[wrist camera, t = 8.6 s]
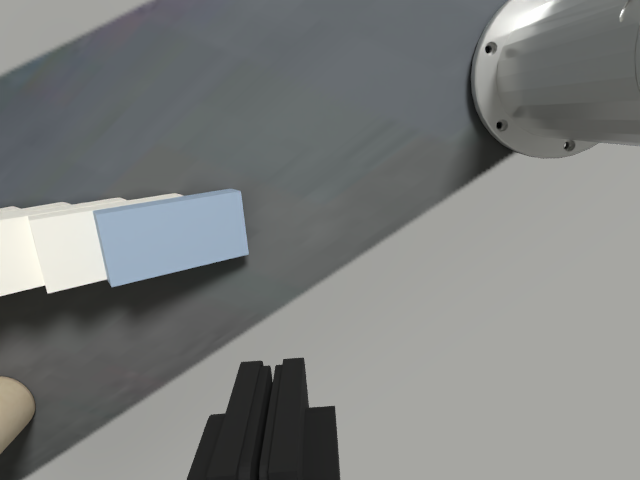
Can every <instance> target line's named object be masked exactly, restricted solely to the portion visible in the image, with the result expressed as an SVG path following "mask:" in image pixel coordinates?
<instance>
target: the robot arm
mask: <svg viewBox="0 0 640 480" xmlns="http://www.w3.org/2000/svg"><path fill="white" fill-rule="evenodd" d="M486 46H488V47H489V49H490V51H489V53H486V51H485V47H486ZM471 89H472V96H473V100H474V104H475V108H476V111H477V113H478V115H479V117H480V119H481V121H482V123H483V125H484V126H485V127H486V129H487V130H488V131H489V133H490V134H491V135H492V136H493V137H494V138H495V139H496V140H498V141H499V142H500V143H501V144H502V145H504V146H505V147H507V148H509V149H511V150H513V151H515V152H517V153H520V154H524V155H527V156H531V157H538V158H562V157H567V156H571V155H575V154H577V153H580V152H582V151H585V150H587V149H589V148H591V147H593V146H594V145H596V144H598V143H610V144H621V145H630V146H640V0H508V1H507V2H506V3H505V4H504V5H503V6H502V7H501V8H500V9H499V10H497V12H496V13H495V14H494V16H493V17H492V18H491V20H490V21H489V23H488V24H487V25H486V27H485V29H484V31H483V33H482V35H481V37H480V39H479V41H478V44H477V47H476V50H475V54H474V57H473V62H472V71H471ZM497 122H500V127H499V128H498V129H497V128H496V125H497ZM565 143H566V146H565V147H564V144H565ZM305 373H306V372H305V364H304V358H292V359H283V365H276V366H275V373H274V379H273V382H272V374H271V367H270V366H263V362H262V361H251V362H241V364H240V367H239V370H238V374H237V377H236V381H235V384H234V387H233V390H232V394H231V397H230V401H229V404H228V407H227V411H226V414H214V415H211V416H209V418H208V421H207V424H206V427H205V429H204V432H203V435H202V438H201V440H200V443H199V446H198V449H197V452H196V455H195V458H194V460H193V463H192V466H191V469H190V472H189V474H188V477H187V480H340V471H339V470H340V469H339V455H338V440H337V427H336V415H335V406H327V407H313V408H309V404H308V394H307V383H306V374H305Z"/></svg>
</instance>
